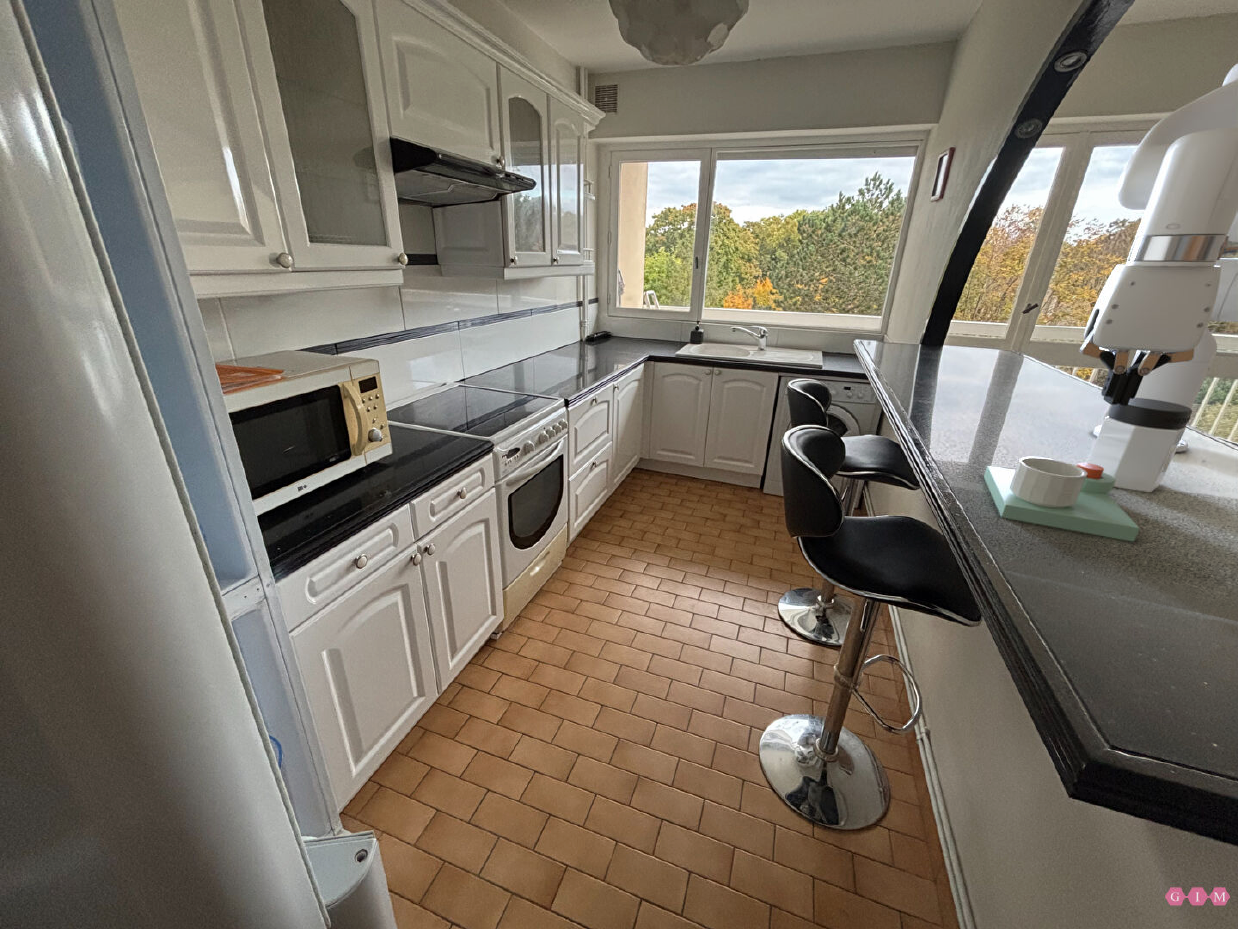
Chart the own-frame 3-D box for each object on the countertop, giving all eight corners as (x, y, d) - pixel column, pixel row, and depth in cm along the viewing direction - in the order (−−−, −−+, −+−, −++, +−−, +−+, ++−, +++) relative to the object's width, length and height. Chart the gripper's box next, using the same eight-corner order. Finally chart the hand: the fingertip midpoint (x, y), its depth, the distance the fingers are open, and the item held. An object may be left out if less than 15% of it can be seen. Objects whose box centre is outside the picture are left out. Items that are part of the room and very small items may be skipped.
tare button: (1070, 471, 72) (1074, 461, 71) (1096, 474, 71) (1100, 464, 70) (1076, 478, 69) (1080, 467, 69) (1103, 482, 68) (1107, 471, 68)
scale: (982, 475, 78) (989, 453, 77) (1097, 493, 72) (1106, 470, 71) (1001, 517, 65) (1009, 493, 64) (1143, 544, 59) (1155, 517, 58)
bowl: (1004, 483, 70) (1014, 453, 69) (1065, 493, 67) (1077, 462, 66) (1014, 503, 65) (1025, 470, 63) (1081, 514, 62) (1095, 481, 60)
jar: (1147, 497, 71) (1184, 415, 67) (1075, 477, 78) (1105, 401, 73) (1165, 483, 76) (1201, 406, 71) (1096, 466, 82) (1124, 394, 78)
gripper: (1243, 252, 60) (1177, 402, 67) (1083, 253, 66) (1038, 390, 73) (1283, 252, 54) (1206, 417, 61) (1102, 253, 60) (1051, 403, 67)
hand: (1114, 402), depth 67 cm, fingers closed
